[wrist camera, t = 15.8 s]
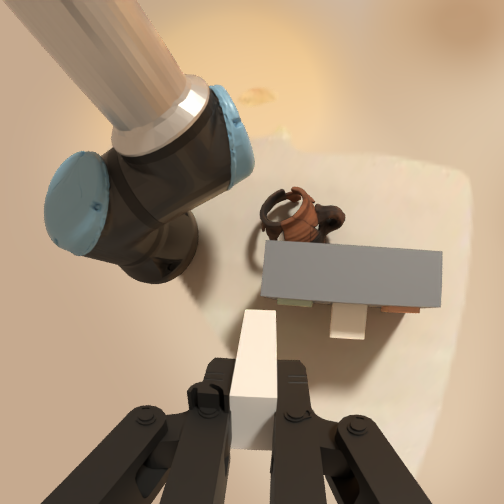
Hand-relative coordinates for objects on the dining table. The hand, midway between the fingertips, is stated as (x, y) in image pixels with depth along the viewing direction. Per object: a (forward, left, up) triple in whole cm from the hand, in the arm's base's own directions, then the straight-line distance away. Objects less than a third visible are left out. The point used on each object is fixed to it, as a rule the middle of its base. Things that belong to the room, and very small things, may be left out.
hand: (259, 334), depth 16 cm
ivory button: (+6, +1, -26) cm, 27 cm away
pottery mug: (-1, +14, -32) cm, 35 cm away
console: (+6, +5, -32) cm, 33 cm away
